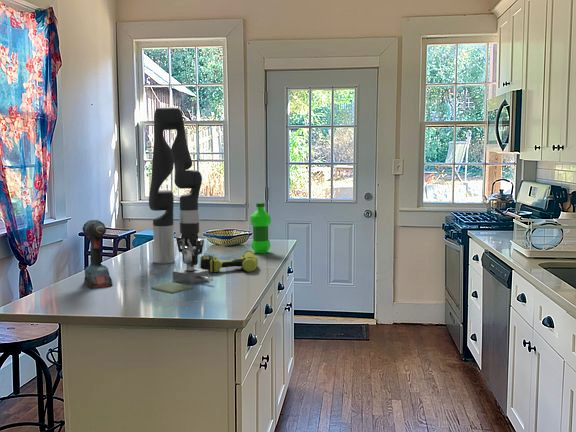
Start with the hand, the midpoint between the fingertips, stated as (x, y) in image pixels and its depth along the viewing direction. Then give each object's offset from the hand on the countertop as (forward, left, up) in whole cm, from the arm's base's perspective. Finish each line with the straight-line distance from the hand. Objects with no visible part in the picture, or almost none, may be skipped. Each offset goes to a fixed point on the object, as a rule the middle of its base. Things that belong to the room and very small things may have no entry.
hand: (190, 263), depth 227 cm
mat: (+4, -13, -7) cm, 15 cm away
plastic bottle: (-18, +63, -7) cm, 66 cm away
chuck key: (0, 0, -5) cm, 5 cm away
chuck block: (+3, 0, -7) cm, 8 cm away
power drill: (-24, -26, -7) cm, 36 cm away
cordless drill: (-6, +27, -7) cm, 29 cm away
